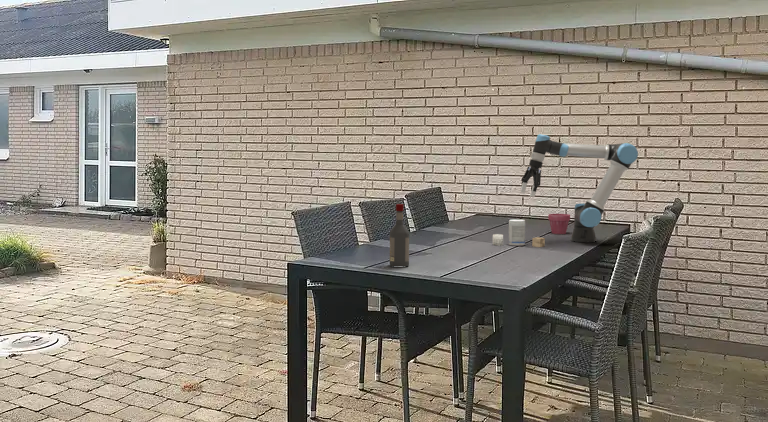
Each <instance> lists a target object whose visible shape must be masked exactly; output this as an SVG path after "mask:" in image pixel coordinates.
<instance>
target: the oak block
mask: <svg viewBox="0 0 768 422" xmlns="http://www.w3.org/2000/svg"><path fill="white" fill-rule="evenodd" d="M545 241H546V238H545V237H538V236H537V237H532V244H531V245H532V247H534V248H543V247H544V248H545V245H546V242H545Z"/></svg>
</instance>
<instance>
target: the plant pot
mask: <svg viewBox="0 0 768 422" xmlns="http://www.w3.org/2000/svg"><path fill="white" fill-rule="evenodd" d="M547 215H548V217H547V220H548V221H549V224H550V225H549V226H550V230H551V234H553V235H566V234H567V230H568V227H569V221H571V214H568V213H548V214H547Z"/></svg>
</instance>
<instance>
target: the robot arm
mask: <svg viewBox="0 0 768 422" xmlns="http://www.w3.org/2000/svg"><path fill="white" fill-rule="evenodd" d="M547 153H548V154H550V155H552V156H559V157H561V158H562V157H563V158H565V157H582V158H583V157H584V158H595V159H596V158H597V159H604V160H605V161H609V162H610V165H609V167H608V169H607V170H606V171H605V174H604V175H603V177H602V179H601V180H600V182H599V184H598V186H597V187H596V188H595V190H594V193H593V194H592V196H591V198H590V199H588V200H586V201H585V203H576V204H575V205H574V209H573V210H574V217H573V218H574V219H573V220H574V221H573V225H574V226H573V231H572V234H571V236H570V241H571V242H574V241H575V243H596V242H597V236H596V232H595V228H594V227H597V226H598V225H599V224H600V223H601V221H602V215H603V214H604V213H605V206H606V203H607V202H608V200H609V198H610V197H611V195H612V193H613V192H614V189H615V188H616V186H617V185H618V183H619V181H620V179H621V178H622V176H623V174H624V173H625V171H629V169H630V168H631V166H632V164H633V163H634V162H636V161H637V159H638V156H639V152H638V149H637V147H636V146H635V145H634V144H631V143H628V142H627V143H625V142H624V143H622V142H621V143H614V144H613V143H612V144H610V143H609V144H606V145H600V144H584V143H583V144H582V143H570V142H569V143H568V142H558V141H555V140H551V137H550V136H549V135H546V134H541V133H539V134H537V136H536V139H535V142H534V146H533V149H532V153H531V157H530V158H531V159H530V160H529V164H528V166H527V168H526V170H525V172H524V174H523V176H522V178H521V181H522V184H521V189H520V190H519V192H520V193H519V194H523V195H524V194H525V192H526V189H527V187H528V182H529V180H530V179H531V178H532V177H533V178H532V179H533V184H532V188H531V191H530V194H529V197H532V198H535V196H536V193H537V190H538V187H540V186H541V182H542V181H541V178H542V177H541V175H542V167H543V164H544V161H545V157H546V154H547ZM595 241H596V242H595Z"/></svg>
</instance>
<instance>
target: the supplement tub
mask: <svg viewBox="0 0 768 422" xmlns="http://www.w3.org/2000/svg"><path fill="white" fill-rule="evenodd" d="M508 245H509V246H513V247H514V246H515V247H521V246H525V245H526V220H525V219H509V221H508Z"/></svg>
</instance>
